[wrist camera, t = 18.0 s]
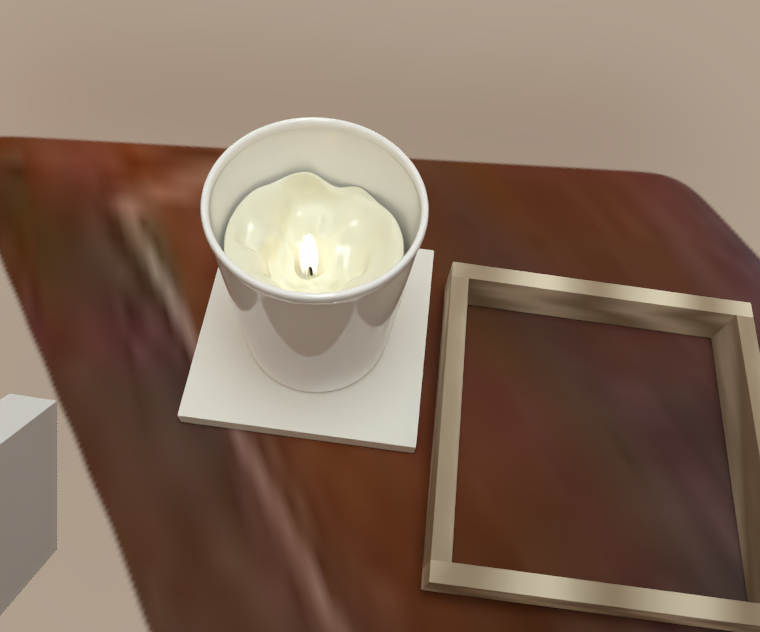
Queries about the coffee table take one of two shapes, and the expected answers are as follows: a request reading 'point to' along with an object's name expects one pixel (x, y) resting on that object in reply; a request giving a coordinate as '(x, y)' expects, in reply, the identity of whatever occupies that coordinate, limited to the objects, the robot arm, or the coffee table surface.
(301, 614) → the coffee table surface
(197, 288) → the coffee table surface
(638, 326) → the birch frame
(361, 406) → the coaster
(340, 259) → the candle holder
